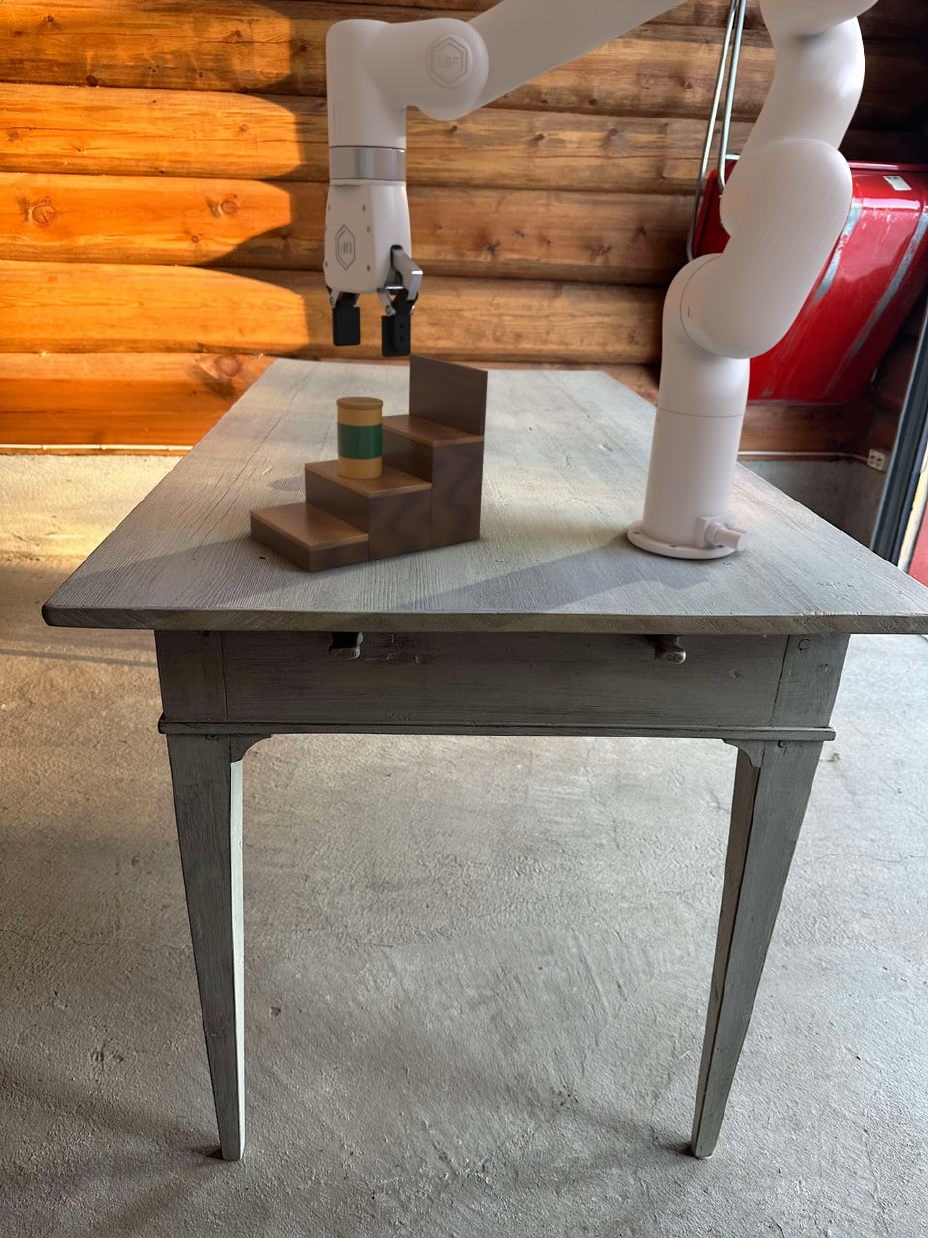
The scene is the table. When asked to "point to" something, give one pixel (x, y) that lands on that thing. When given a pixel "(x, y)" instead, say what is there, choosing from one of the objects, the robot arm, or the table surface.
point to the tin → (359, 437)
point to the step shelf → (395, 481)
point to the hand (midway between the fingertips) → (370, 350)
